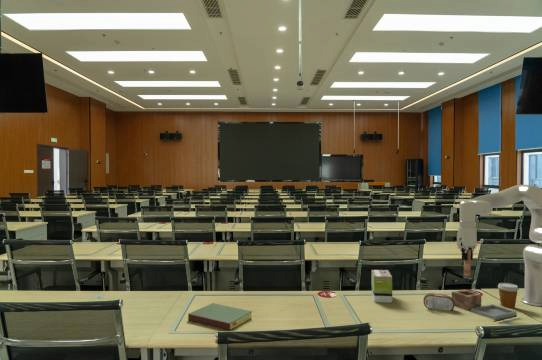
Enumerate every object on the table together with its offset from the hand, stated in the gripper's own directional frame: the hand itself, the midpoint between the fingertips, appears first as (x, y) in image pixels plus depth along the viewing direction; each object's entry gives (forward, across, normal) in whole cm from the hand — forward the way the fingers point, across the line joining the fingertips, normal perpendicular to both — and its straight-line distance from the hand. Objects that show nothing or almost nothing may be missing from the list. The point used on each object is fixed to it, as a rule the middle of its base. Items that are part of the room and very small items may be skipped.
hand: (467, 259), depth 214 cm
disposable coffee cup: (+26, -20, +8) cm, 34 cm away
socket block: (+26, 0, 0) cm, 26 cm away
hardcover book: (+25, +122, -39) cm, 131 cm away
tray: (+26, -3, +13) cm, 29 cm away
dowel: (+9, 0, 0) cm, 9 cm away
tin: (+26, +16, -4) cm, 31 cm away
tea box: (+26, +30, -32) cm, 51 cm away
